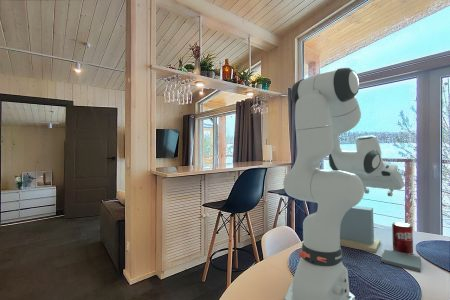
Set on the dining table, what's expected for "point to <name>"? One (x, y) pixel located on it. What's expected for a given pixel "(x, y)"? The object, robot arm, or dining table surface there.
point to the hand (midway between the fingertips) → (378, 194)
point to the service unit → (359, 229)
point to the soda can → (402, 237)
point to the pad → (401, 260)
